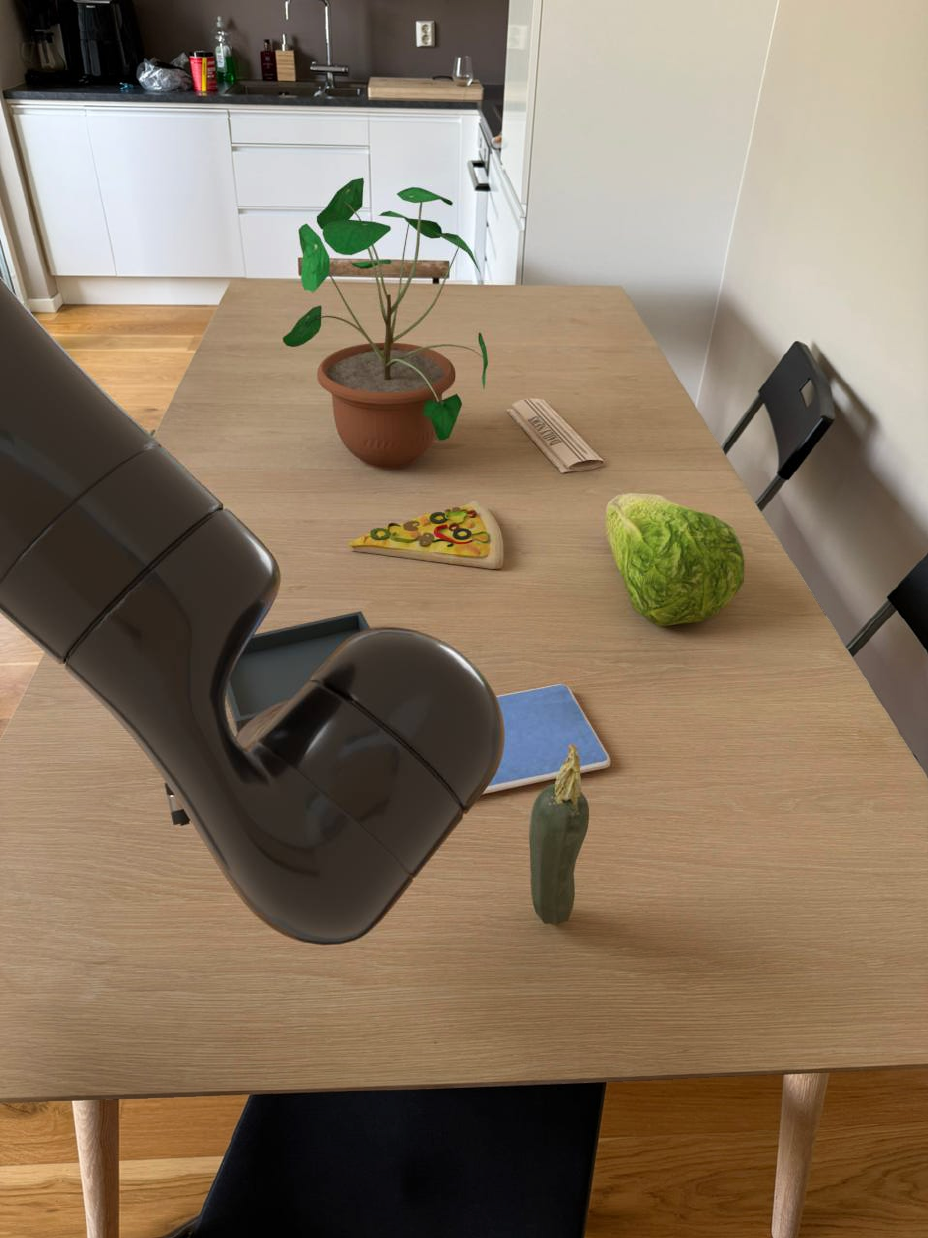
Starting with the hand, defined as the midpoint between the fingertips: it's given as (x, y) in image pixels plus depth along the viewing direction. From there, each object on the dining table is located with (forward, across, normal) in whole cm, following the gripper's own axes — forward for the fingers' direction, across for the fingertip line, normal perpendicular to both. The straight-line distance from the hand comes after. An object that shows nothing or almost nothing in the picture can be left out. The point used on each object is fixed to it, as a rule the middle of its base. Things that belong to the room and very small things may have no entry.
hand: (272, 771), depth 61 cm
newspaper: (+67, -61, -40) cm, 99 cm away
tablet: (+24, -25, +4) cm, 34 cm away
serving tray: (+35, -8, -8) cm, 37 cm away
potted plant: (+71, -36, -44) cm, 91 cm away
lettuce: (+38, -56, -10) cm, 68 cm away
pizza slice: (+50, -30, -23) cm, 63 cm away
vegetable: (+9, -20, +18) cm, 29 cm away
